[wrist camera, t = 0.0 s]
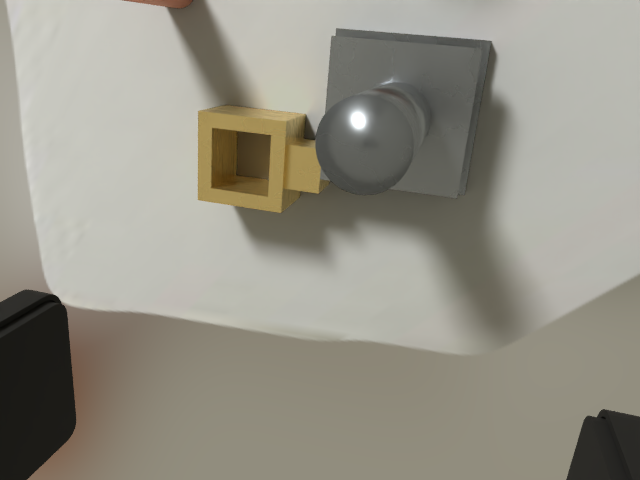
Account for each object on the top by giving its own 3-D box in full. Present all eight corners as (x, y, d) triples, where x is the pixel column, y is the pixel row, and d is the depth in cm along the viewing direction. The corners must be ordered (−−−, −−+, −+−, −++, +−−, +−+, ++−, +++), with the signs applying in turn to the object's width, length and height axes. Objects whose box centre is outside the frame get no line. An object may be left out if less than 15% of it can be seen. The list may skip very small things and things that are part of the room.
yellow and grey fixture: (227, 19, 39) (95, 2, 25) (491, 41, 35) (502, 34, 22) (224, 185, 43) (108, 248, 29) (459, 221, 39) (452, 311, 26)
